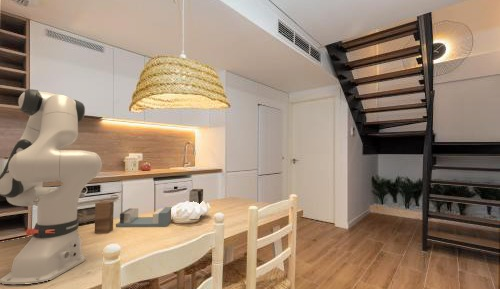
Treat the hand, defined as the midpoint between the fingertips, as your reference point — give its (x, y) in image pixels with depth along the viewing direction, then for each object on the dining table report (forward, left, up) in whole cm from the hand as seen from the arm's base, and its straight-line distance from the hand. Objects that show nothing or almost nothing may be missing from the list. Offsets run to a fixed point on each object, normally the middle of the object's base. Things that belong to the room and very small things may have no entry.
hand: (78, 197), depth 118 cm
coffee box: (+24, -52, -17) cm, 60 cm away
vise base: (+13, -27, -16) cm, 34 cm away
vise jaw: (+13, -19, -15) cm, 27 cm away
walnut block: (0, -12, -16) cm, 20 cm away
